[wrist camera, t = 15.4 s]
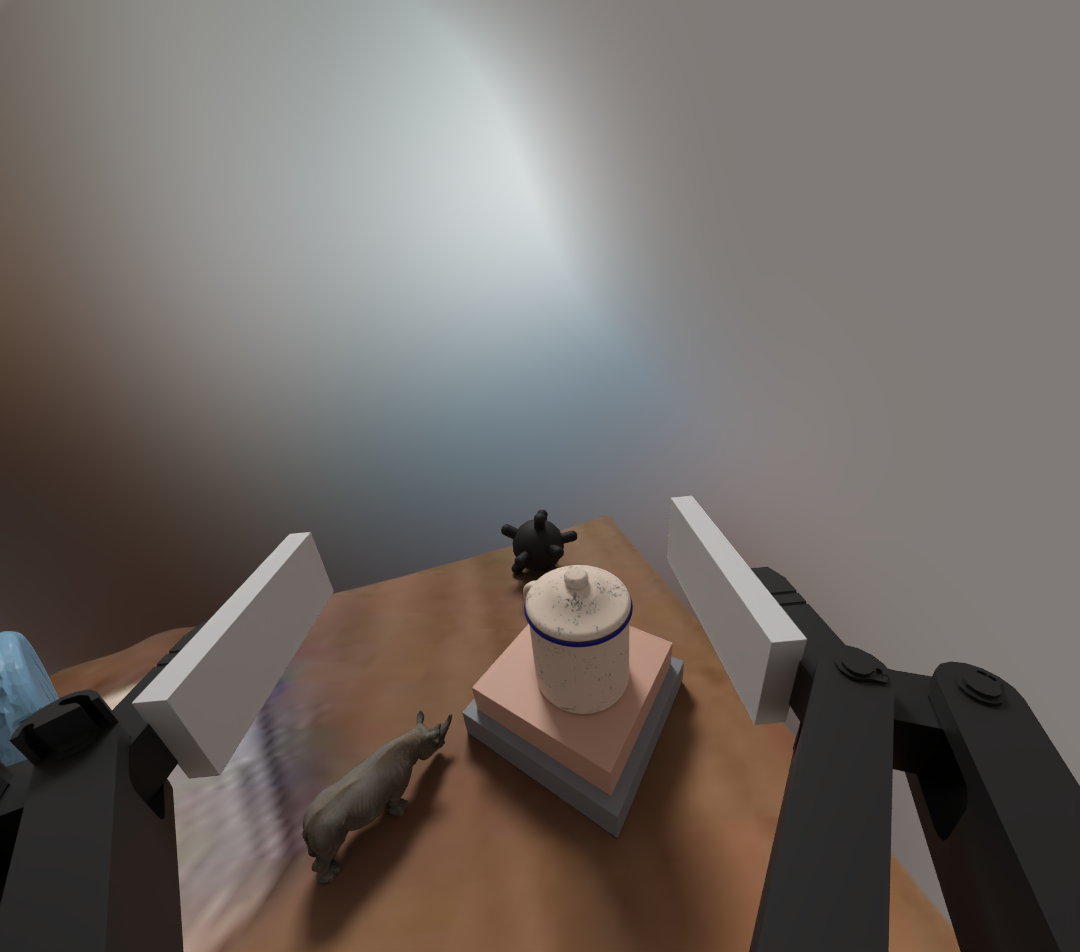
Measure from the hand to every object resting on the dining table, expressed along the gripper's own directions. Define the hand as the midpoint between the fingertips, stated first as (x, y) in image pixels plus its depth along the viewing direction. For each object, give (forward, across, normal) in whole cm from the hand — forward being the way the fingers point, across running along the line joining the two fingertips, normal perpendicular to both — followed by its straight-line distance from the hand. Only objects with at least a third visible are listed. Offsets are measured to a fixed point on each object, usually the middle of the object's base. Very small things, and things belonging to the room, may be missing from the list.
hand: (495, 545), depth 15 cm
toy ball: (+38, 0, -31) cm, 49 cm away
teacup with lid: (+15, +3, -25) cm, 29 cm away
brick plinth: (+15, +4, -31) cm, 34 cm away
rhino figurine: (+8, -13, -31) cm, 35 cm away
